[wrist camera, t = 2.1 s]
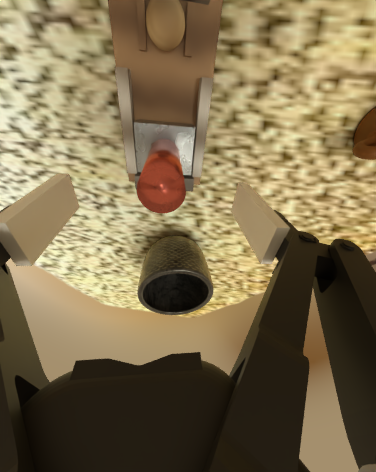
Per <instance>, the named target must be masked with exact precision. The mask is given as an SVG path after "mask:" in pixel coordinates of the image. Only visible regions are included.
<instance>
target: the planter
mask: <svg viewBox="0 0 376 472" xmlns="http://www.w3.org/2000/svg"><path fill="white" fill-rule="evenodd" d="M212 295H213V283H212V279H211V276H210V272H209V269H208V265H207V262H206V259H205V257H204V255H203V252H202V250H201V249H200V247H199V246H198V245H197V244H196V243H195V242H194V241H192V240H191V239H189V238H186V237H183V236H168V237H164V238H162V239H160V240H158V241H157V242H155V243H154V244H153V245H152V246H151V248H150V249H149V251H148V252H147V255H146V257H145V260H144V263H143V267H142V271H141V276H140V280H139V285H138V298H139V301H140V302H141V304H142V305H143V306H145V307H146V308H147V309H149V310H151V311H153V312H156V313H160V314H165V315H181V314H186V313H190V312H193V311H196V310H198V309H200V308H202V307H203V306H204V305H206V304H207V303H208V302H209V301H210V299H211V297H212Z"/></svg>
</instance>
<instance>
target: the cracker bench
mask: <svg viewBox="0 0 376 472" xmlns="http://www.w3.org/2000/svg"><path fill="white" fill-rule="evenodd" d="M149 2H150V0H108V4H109V12H110V21H111V29H112V38H113V46H114V55H115V63H116V67H115V74H116V82H117V90H118V98H119V107H120V115H121V123H122V132H123V140H124V148H125V157H126V165H127V173H128V174H129V181H135V186H136V189H137V184H138V180H139V178H140V175H141V172H138V171H137V159H136V147H135V136H134V124H133V122H135V121H136V120H137V119H142V120H153V121H165V122H176V123H187V124H193V125H194V127H195V137H194V148H193V158H192V169H191V175H183V177H184V182H185V189H186V191H193V185H194V184H196V185H200V177H201V172H202V164H203V156H204V148H205V141H206V133H207V125H208V117H209V109H210V101H211V94H212V86H213V74H214V66H215V58H216V50H217V42H218V34H219V26H220V18H221V10H222V3H223V0H179V2H180V4H181V6H182V9H183V12H184V17H185V31H184V35H183V38H182V41H181V42H180V44H179V45H178V46H177V47H176V48H175V49H174V50H171V51H163V50H161V49H159V48H158V47H157V46H156V45H155V44H154V43H153V41H152V40H151V38H150V36H149V33H148V30H147V25H146V11H147V7H148V4H149Z"/></svg>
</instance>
